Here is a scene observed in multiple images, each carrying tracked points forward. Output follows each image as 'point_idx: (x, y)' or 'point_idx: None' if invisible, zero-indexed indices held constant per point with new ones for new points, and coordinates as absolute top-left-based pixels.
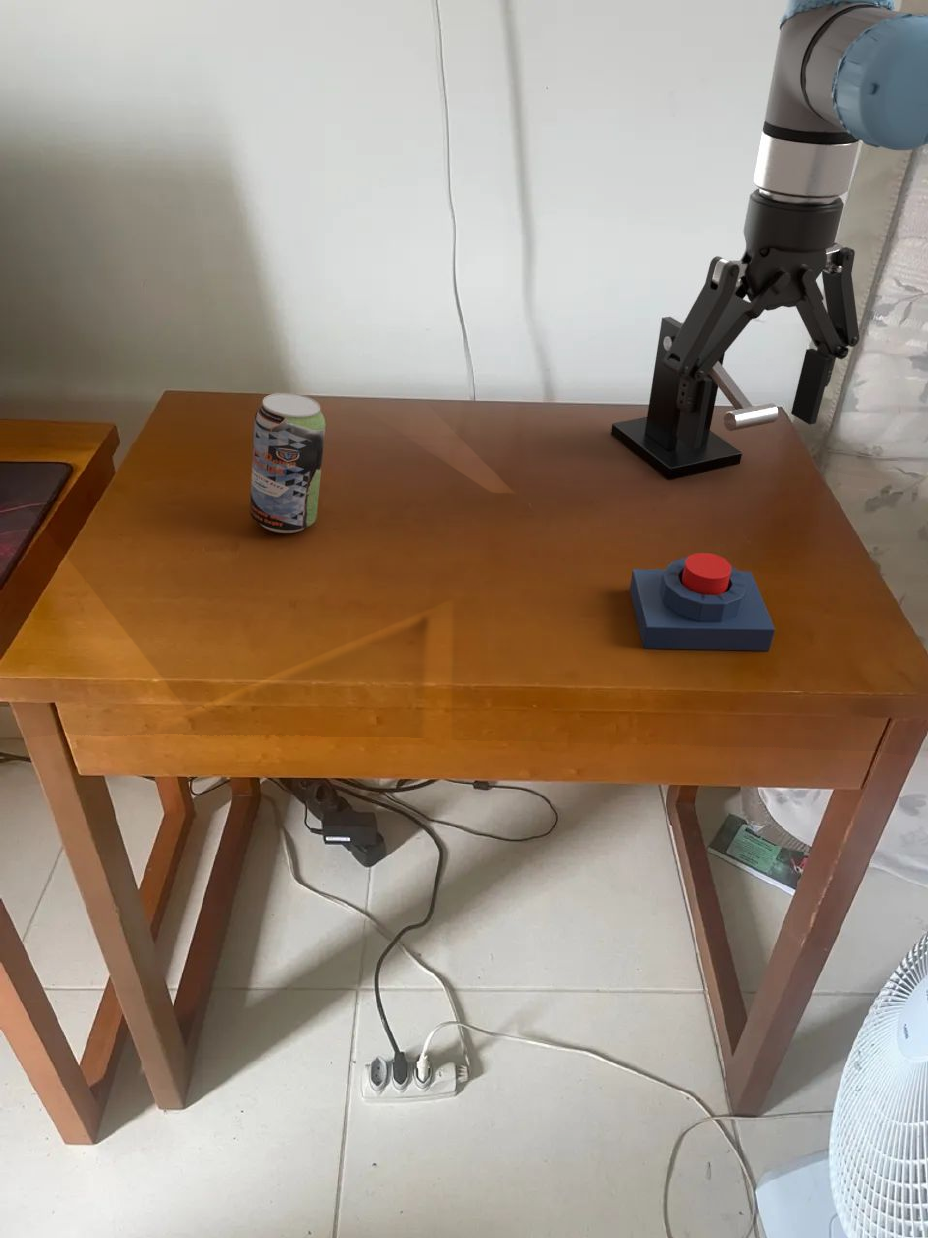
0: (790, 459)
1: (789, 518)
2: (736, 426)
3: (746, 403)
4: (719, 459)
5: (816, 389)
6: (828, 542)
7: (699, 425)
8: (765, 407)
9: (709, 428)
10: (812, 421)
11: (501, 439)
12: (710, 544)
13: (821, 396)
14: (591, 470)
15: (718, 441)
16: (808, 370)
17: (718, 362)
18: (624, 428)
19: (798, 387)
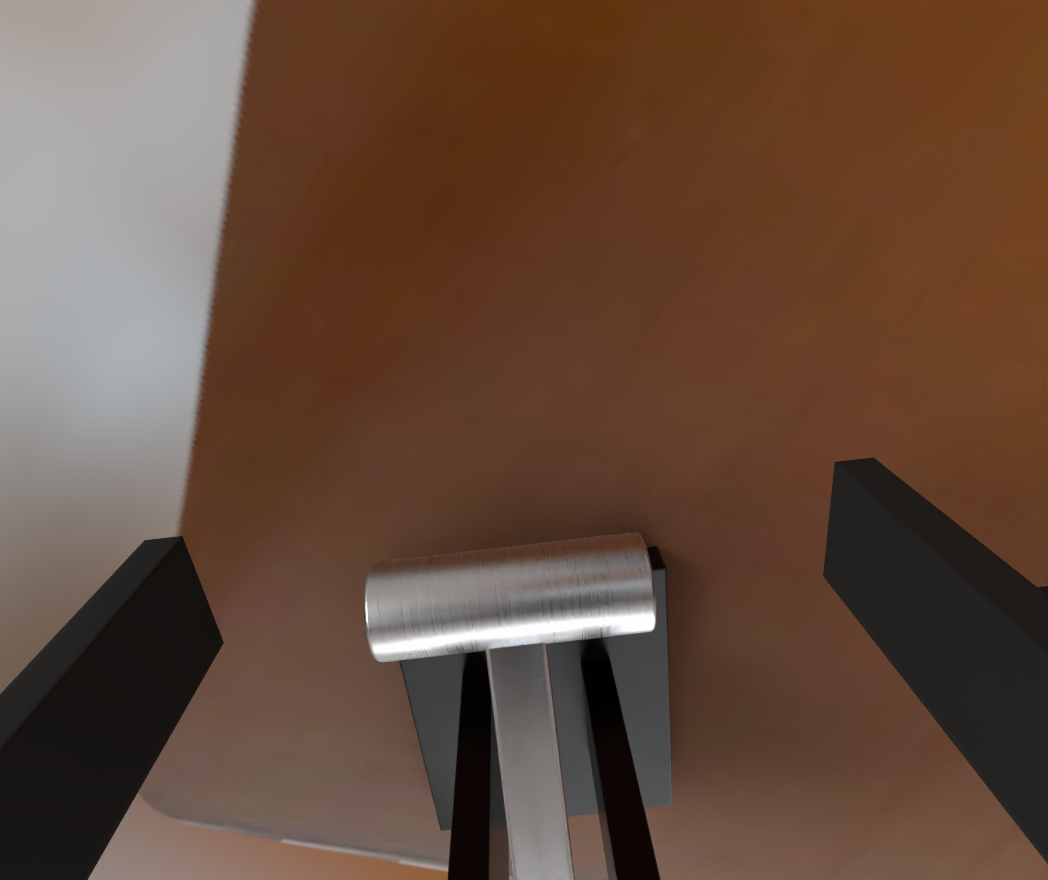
0: (213, 564)
1: (403, 235)
2: (636, 534)
3: (517, 674)
4: None
5: (78, 678)
6: (344, 28)
7: (940, 519)
8: (435, 623)
9: (463, 709)
10: (161, 545)
11: (937, 801)
12: (770, 158)
13: (62, 636)
14: (828, 636)
15: (424, 670)
16: (67, 830)
17: None
18: (656, 778)
19: (157, 746)
